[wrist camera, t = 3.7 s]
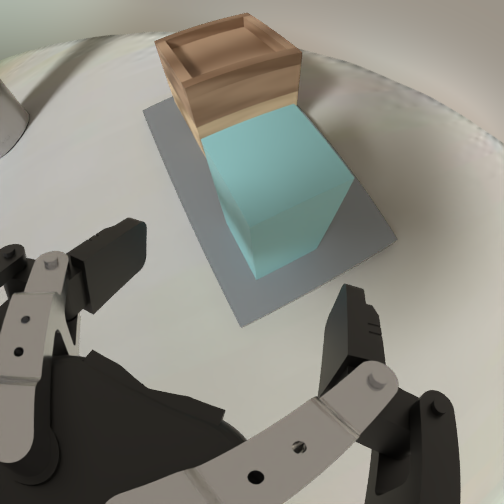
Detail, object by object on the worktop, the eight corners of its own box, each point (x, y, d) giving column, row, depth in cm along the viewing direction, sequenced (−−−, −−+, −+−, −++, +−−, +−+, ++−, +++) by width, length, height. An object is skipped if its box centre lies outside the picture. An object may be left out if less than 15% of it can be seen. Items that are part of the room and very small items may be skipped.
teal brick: (226, 222, 22) (200, 139, 12) (283, 195, 22) (294, 103, 13) (256, 280, 20) (249, 227, 11) (316, 248, 21) (354, 177, 11)
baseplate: (145, 116, 27) (142, 110, 26) (259, 71, 29) (258, 65, 28) (241, 327, 20) (240, 327, 20) (392, 243, 22) (397, 239, 21)
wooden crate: (174, 101, 26) (154, 41, 18) (251, 73, 27) (247, 12, 19) (205, 157, 24) (184, 88, 16) (294, 121, 25) (302, 52, 17)
